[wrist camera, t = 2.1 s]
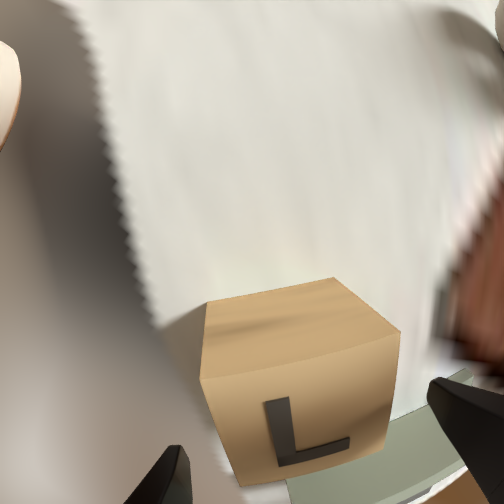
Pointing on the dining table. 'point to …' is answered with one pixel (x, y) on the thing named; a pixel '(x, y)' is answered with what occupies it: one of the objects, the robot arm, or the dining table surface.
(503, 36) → the donut
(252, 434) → the marked cube
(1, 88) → the white bottle
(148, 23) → the dining table surface
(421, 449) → the sage screen
